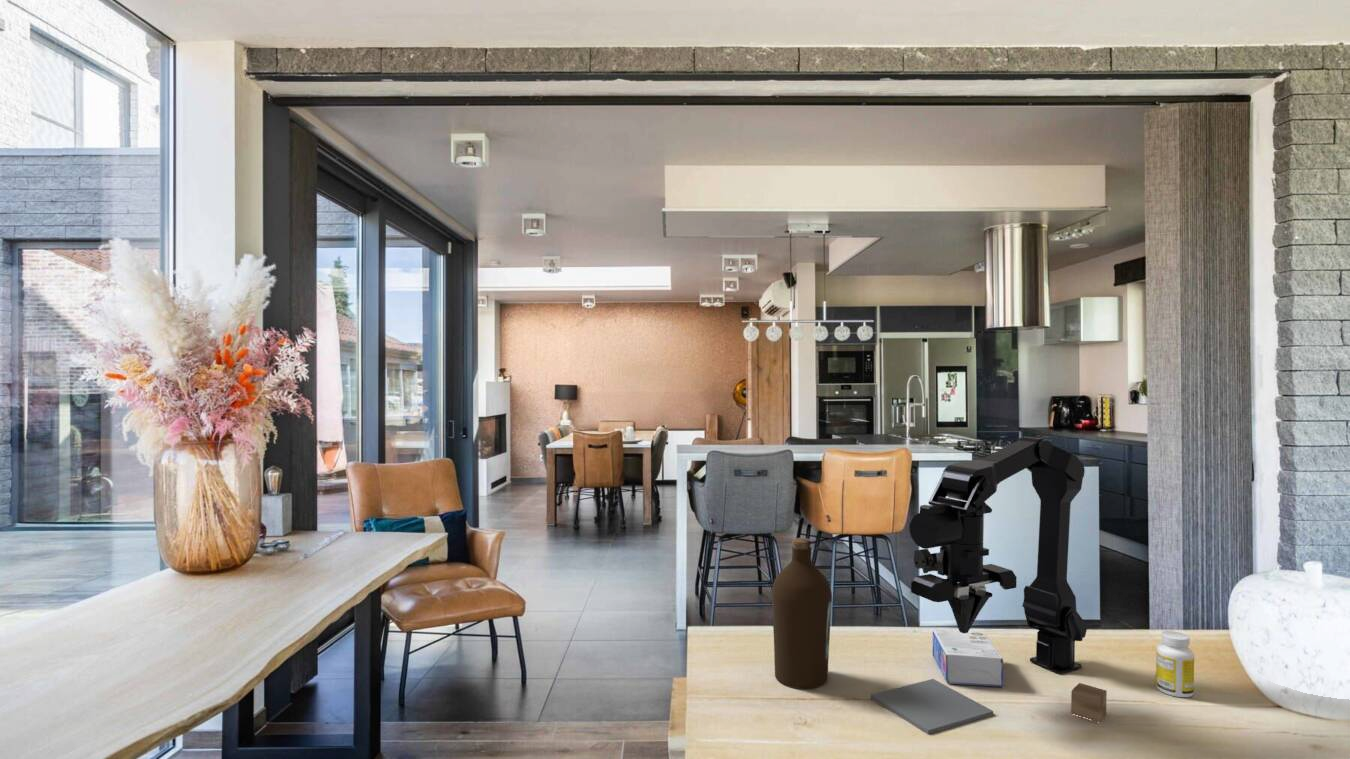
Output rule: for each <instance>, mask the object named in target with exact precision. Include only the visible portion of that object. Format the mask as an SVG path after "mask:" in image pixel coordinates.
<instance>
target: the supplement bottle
mask: <svg viewBox="0 0 1350 759" xmlns="http://www.w3.org/2000/svg"><path fill="white" fill-rule="evenodd" d="M1161 642H1162V643H1159V644H1158V645H1157V647H1156V649H1155V650H1156V655H1155V658H1156V659H1155V660H1156V664H1155V665H1156V666H1155V673H1156V674H1155V684H1156V689H1157V690H1158V691H1160V692H1162V693H1164V695H1165V694H1166V695H1168V696H1172V697H1176V698H1177V697H1178V698H1190V697H1193V696H1194V693H1195V653H1194V652H1193V650H1191V649H1190V648H1189V646H1190V636H1189V635H1188V634H1185V633H1183V632H1180V631H1174V630H1164V631H1162V632H1161Z"/></svg>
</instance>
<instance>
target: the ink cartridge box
mask: <svg viewBox="0 0 1350 759" xmlns="http://www.w3.org/2000/svg"><path fill="white" fill-rule="evenodd" d="M932 656H933V659H934V660H935V662H936V664H937V665H938V668H939V670H940V672H941V674H942V676H943V678H944V680H945V682H946V683H947V684H949V685H950V684H953V685H964V686H966V685H968V686H981V687H982V686H983V687H999V688H1002V687H1004V659H1003V657H1002V656H1001V654H1000V652H999V651H998V650H997V649H996V647H995V645H994V644H993V643H992V641H991V640H990V638H989V637H988V636H987V634H986V633H985V632H978V631H977V632H975V631H968V633H961V632H960V631H959V630H958V631H955V630H954V631H953V630H943V629H933V630H932Z"/></svg>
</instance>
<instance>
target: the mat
mask: <svg viewBox="0 0 1350 759" xmlns="http://www.w3.org/2000/svg"><path fill="white" fill-rule="evenodd" d="M870 699H871V700H874V701H875V702H876V703H877V704H879V705H881V706H883V707H884V708H886V709H888V710H889V711H891V712H892V713H894V714H895V715H897V716H899V717H900V718H901V719H904V720H905V721H906V722H908V723H910V724H911V725H912V726H914V727H916V728H917V729H919V730H920V731H922V732H924V733H926V734H927V735H929V734H933V733H936V732H937V733H938V732H940V731H943V730H946V729H949V728H954V727H957V726H959V725H963V724H966V723H967V724H968V723H970V722H973V721H977V720H981V719H983V718H987V717H990V716H993V715H994V710H992V709H991V708H989V707H987V706H985V705H983V704H981V703H980V702H978V701H975V700H974V699H971V698H970V697H968V696H966V695H964V694H962V693H960V692H958V691H956V690H955V689H954V688H951V687H950V686H947V685H945V684H944V683H942V682H940V681H938V680H936V679H934V678H931V679H926V680H923V681H919V682H916V683H912V684H907V685H903V686H900V687H895V688H891V689H887V690H884V691H879V692H876V693H872V694H870Z"/></svg>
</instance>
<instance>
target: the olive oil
mask: <svg viewBox="0 0 1350 759" xmlns="http://www.w3.org/2000/svg"><path fill="white" fill-rule="evenodd" d="M792 544H793V546H791V548H792V549H791V552H792V553H791V556H792V558H791V559H792V560H790V562H789V563H788V564H787V565H786V566H785V567H784V568H783V569H782V570H781V571H780V572H779V573H778V574H777V575H776V577H775V578H774V581H773V584H772V587H771V588H772V589H771V607H772V608H771V609H772V627H773V650H774V652H773V654H774V677H775V679H776V681H778V682H779V683H781V684H783V685H784V686H786V687H790V688H794V689H801V690H808V689H811V690H812V689H817V688H820V687H822V686H824V685H825V684H826V683H827V682H828V679H829V654H830V636H831V635H830V634H831V619H832V617H831V616H832V603H833V602H832V601H833V596H832V589H831V588H832V587H831V586H830V583H829V581H828V579H827V577H826V576H825V574H824V573H822V572H821V570H819V568H818V567H817V566H816V565H815V563H813V561H812V547H811V544H812V541H811V539H810V538H805V537H796V538H793V539H792Z"/></svg>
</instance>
